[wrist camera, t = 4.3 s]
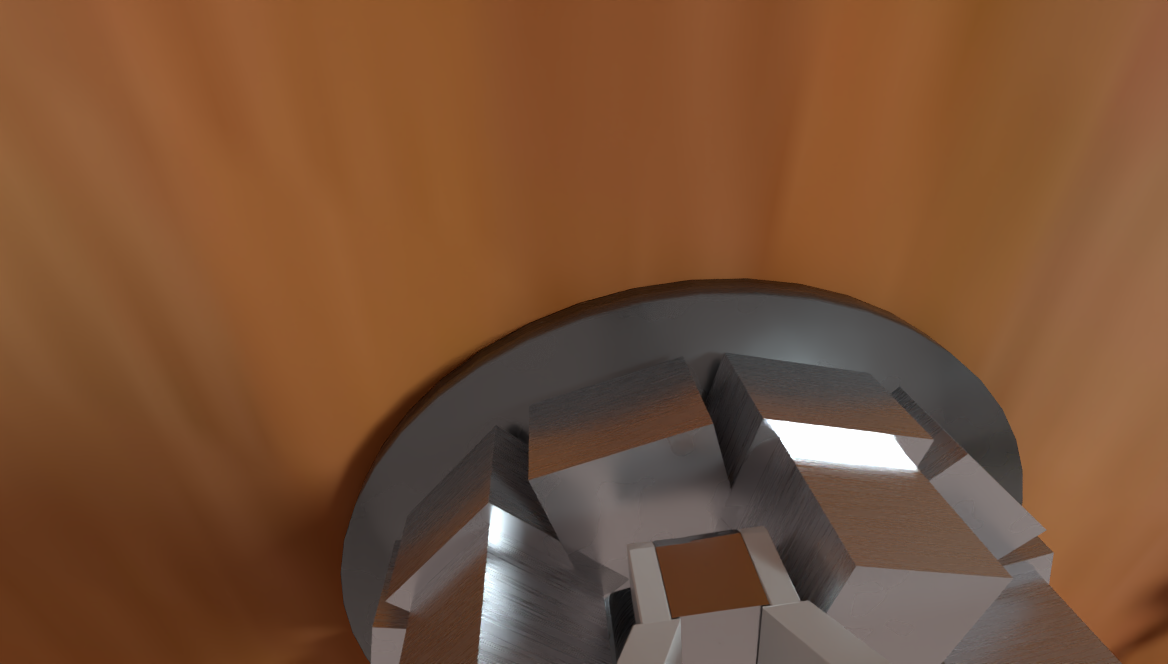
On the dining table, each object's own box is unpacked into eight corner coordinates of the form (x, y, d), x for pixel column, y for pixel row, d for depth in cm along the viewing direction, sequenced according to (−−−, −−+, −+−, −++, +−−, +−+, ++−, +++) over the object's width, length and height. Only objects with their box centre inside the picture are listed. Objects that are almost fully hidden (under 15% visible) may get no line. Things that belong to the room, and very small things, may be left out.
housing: (196, 430, 14) (2, 663, 9) (1019, 156, 13) (1367, 249, 7) (505, 780, 24) (498, 986, 19) (986, 656, 23) (1122, 845, 17)
